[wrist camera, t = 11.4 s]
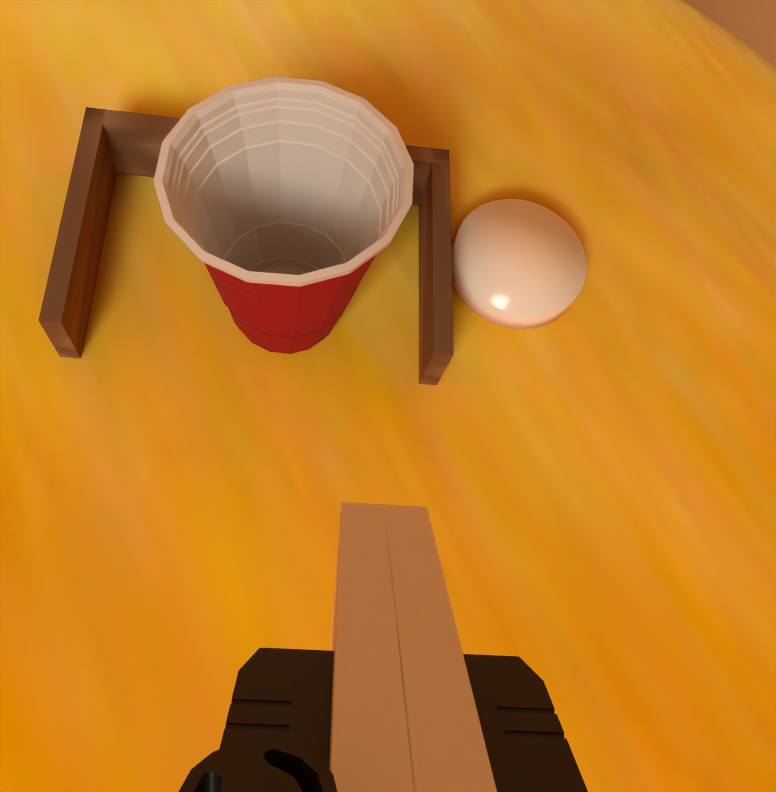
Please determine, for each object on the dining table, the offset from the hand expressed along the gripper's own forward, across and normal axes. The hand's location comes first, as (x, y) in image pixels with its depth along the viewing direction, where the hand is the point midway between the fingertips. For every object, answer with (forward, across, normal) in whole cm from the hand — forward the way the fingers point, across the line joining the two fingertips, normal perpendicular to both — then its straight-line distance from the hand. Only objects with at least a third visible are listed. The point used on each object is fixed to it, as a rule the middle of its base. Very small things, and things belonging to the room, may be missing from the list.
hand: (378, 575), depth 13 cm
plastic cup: (+30, -4, 0) cm, 30 cm away
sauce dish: (+33, +9, +3) cm, 35 cm away
